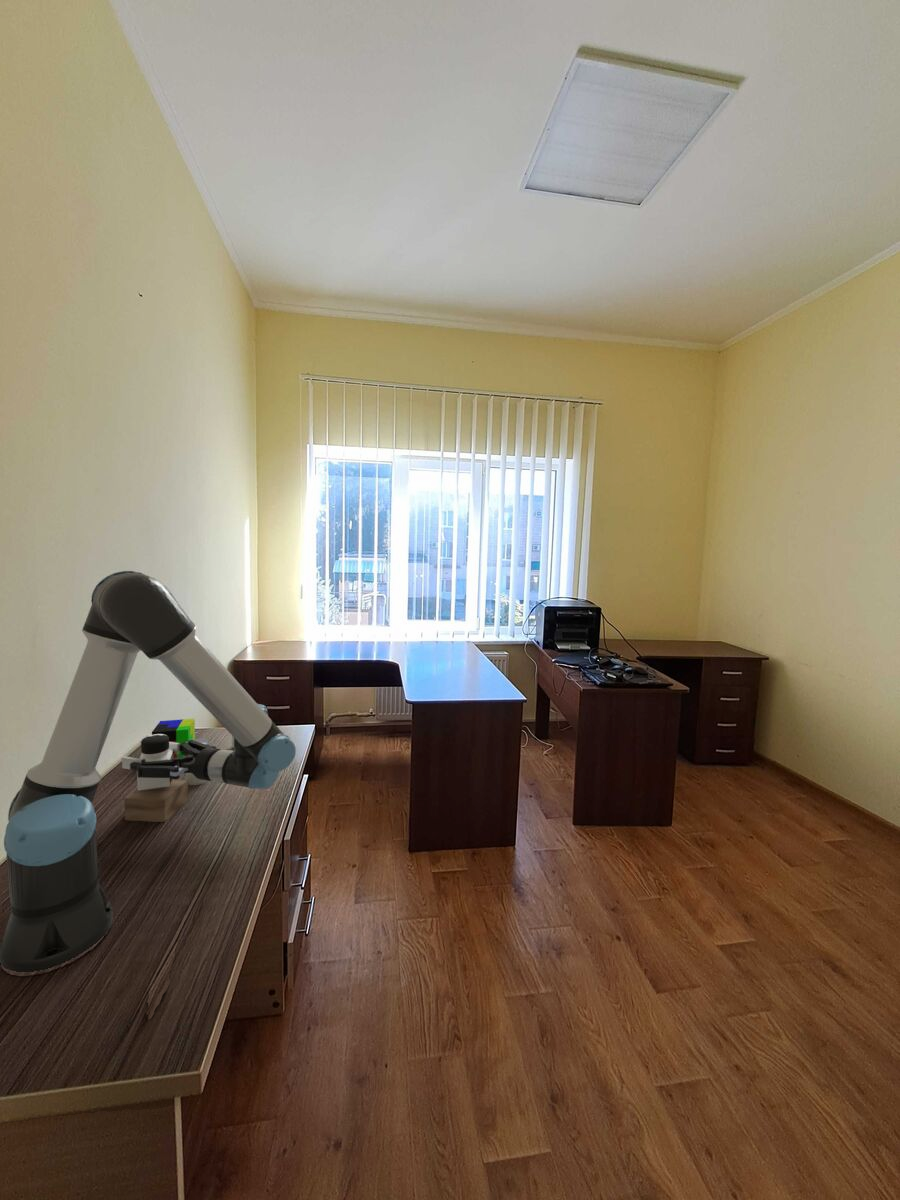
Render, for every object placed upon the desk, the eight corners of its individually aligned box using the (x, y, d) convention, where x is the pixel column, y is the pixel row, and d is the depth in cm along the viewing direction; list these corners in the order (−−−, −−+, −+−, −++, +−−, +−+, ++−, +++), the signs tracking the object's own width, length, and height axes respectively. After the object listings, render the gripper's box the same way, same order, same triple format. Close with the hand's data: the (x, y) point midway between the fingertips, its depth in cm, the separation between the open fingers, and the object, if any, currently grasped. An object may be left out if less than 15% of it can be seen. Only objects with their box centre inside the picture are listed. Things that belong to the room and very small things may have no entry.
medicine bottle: (170, 786, 122) (168, 740, 121) (137, 791, 119) (135, 744, 118) (175, 773, 129) (173, 730, 127) (143, 778, 126) (141, 733, 125)
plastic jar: (198, 787, 137) (197, 748, 136) (179, 783, 138) (178, 746, 137) (214, 776, 143) (213, 740, 142) (196, 773, 145) (195, 737, 143)
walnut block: (165, 822, 120) (164, 799, 119) (125, 821, 120) (124, 797, 119) (188, 801, 130) (187, 780, 129) (151, 800, 130) (150, 778, 129)
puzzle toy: (161, 750, 160) (160, 721, 159) (195, 747, 163) (194, 718, 162) (152, 763, 151) (151, 732, 149) (189, 760, 154) (188, 729, 152)
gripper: (182, 802, 109) (101, 788, 114) (246, 760, 130) (176, 750, 135) (181, 770, 108) (99, 757, 113) (245, 733, 129) (175, 724, 135)
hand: (141, 753), depth 124 cm, fingers closed on medicine bottle, 10 cm apart
